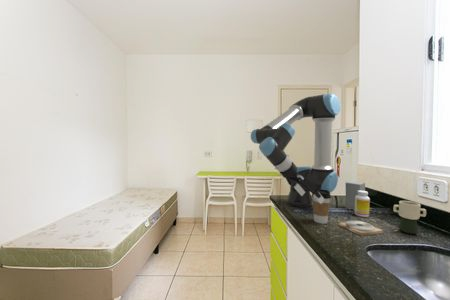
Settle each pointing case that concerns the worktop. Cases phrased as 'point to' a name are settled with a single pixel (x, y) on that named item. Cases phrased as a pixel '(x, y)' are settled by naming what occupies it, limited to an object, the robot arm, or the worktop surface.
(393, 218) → the worktop surface
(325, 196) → the coffee cup
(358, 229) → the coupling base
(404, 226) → the character mug
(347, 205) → the skincare box
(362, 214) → the supplement bottle
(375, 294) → the worktop surface
